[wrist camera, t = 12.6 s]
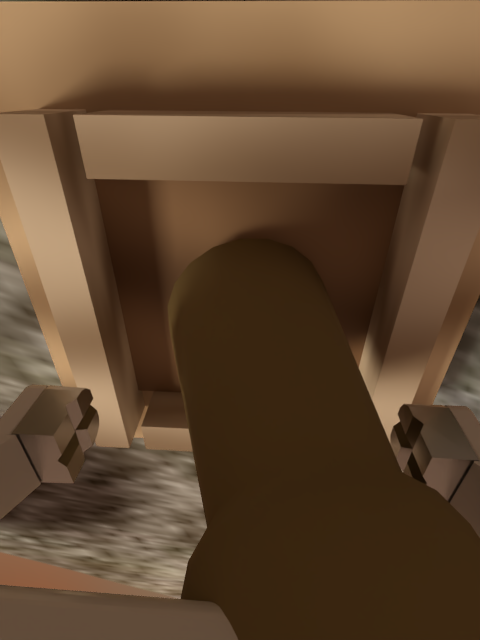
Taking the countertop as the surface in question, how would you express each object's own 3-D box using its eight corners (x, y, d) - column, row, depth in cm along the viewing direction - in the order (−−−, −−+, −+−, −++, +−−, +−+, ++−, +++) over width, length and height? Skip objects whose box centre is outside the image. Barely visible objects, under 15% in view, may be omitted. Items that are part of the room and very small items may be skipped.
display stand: (9, 24, 13) (-174, -23, 8) (513, 24, 12) (713, -28, 7) (107, 384, 23) (58, 475, 17) (389, 396, 22) (430, 497, 17)
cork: (328, 225, 12) (803, 674, 3) (323, 360, 15) (531, 760, 6) (148, 252, 12) (37, 864, 2) (184, 385, 15) (192, 847, 6)
